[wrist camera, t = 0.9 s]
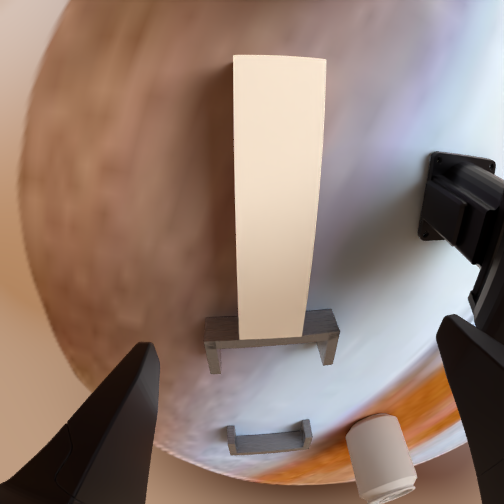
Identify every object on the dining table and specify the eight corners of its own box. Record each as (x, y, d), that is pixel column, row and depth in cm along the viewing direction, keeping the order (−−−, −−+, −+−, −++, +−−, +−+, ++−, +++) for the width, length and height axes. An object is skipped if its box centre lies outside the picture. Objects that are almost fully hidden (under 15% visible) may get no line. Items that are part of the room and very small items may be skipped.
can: (404, 413, 35) (430, 484, 25) (365, 438, 38) (383, 506, 27) (375, 406, 32) (402, 489, 22) (333, 433, 35) (349, 511, 25)
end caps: (331, 308, 23) (340, 331, 21) (305, 432, 34) (308, 448, 32) (205, 317, 23) (203, 341, 21) (230, 438, 34) (230, 455, 32)
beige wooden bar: (306, 64, 15) (326, 59, 11) (292, 298, 23) (301, 336, 19) (233, 62, 15) (233, 55, 11) (238, 300, 23) (239, 339, 19)
